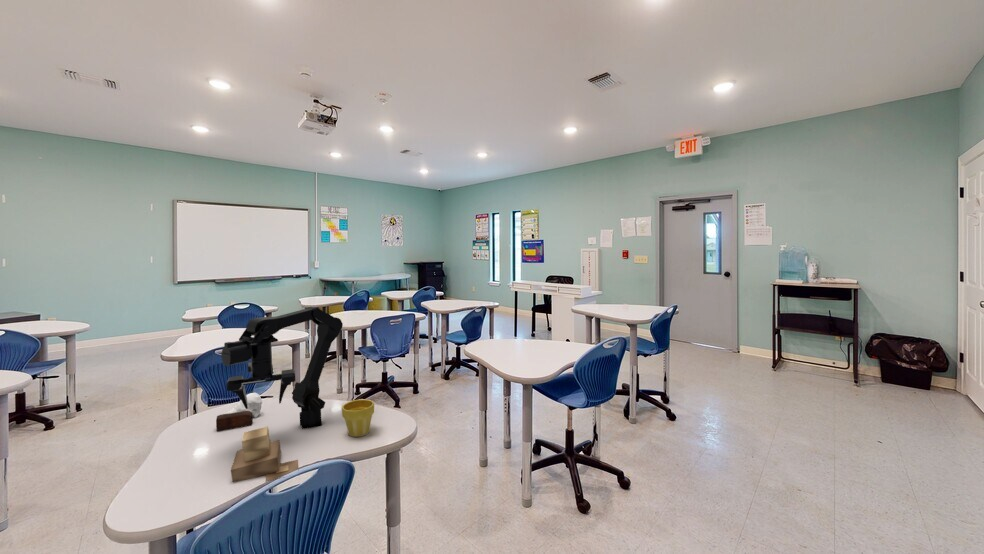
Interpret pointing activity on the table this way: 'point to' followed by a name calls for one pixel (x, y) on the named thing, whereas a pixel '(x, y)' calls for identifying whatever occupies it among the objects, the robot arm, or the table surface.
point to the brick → (233, 420)
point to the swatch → (283, 470)
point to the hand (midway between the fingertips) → (263, 405)
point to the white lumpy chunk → (249, 405)
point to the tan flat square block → (256, 464)
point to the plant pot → (358, 416)
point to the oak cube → (256, 443)
